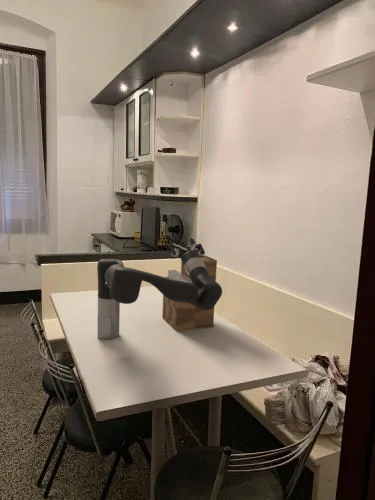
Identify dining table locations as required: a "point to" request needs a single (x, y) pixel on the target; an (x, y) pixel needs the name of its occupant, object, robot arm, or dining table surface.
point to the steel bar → (178, 276)
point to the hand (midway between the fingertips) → (180, 239)
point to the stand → (189, 306)
